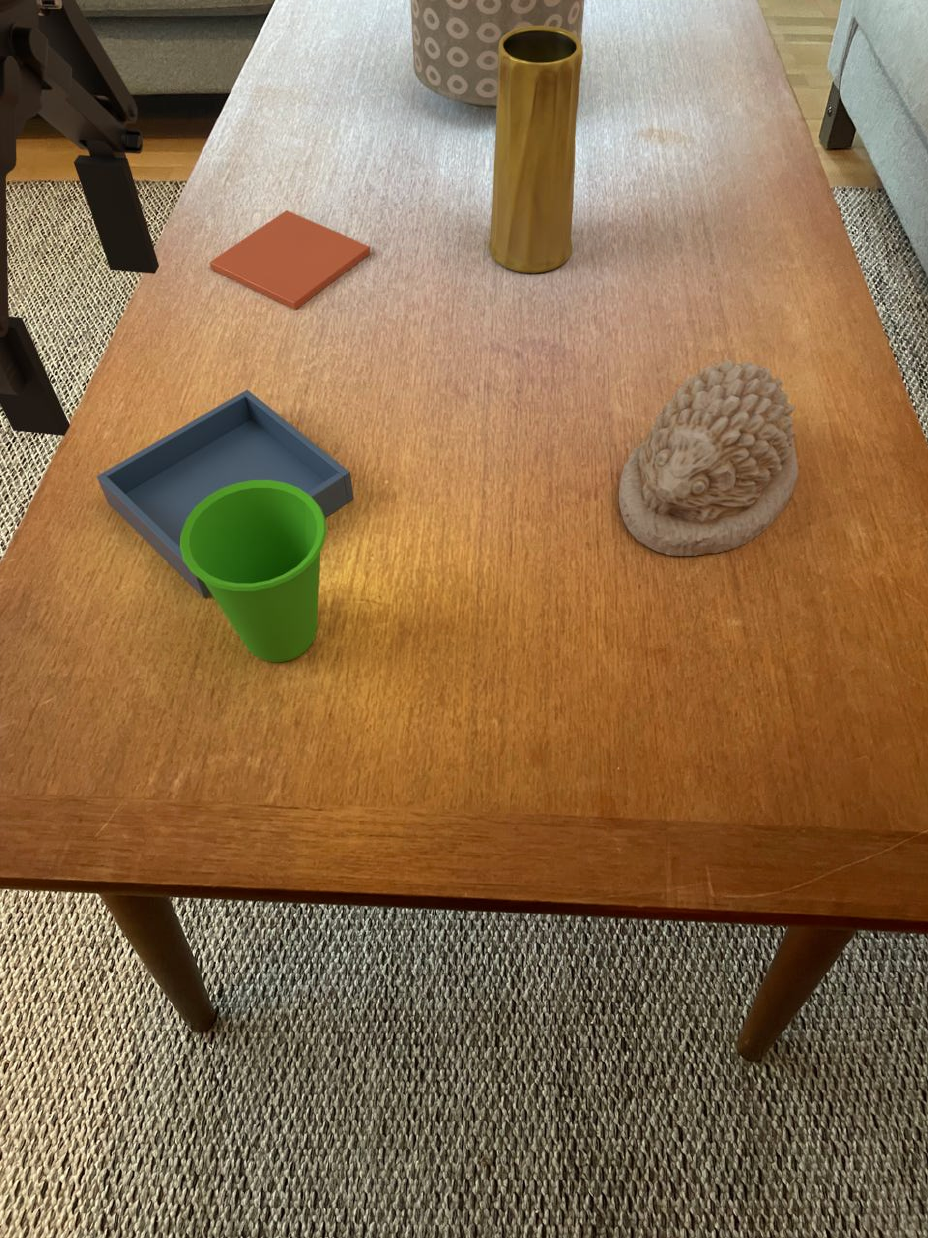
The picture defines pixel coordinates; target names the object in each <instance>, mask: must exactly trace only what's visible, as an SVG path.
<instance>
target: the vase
mask: <svg viewBox="0 0 928 1238" xmlns="http://www.w3.org/2000/svg"><path fill="white" fill-rule="evenodd" d="M583 53H584V52H583V44H582V40H581V41H580V40H579V38H578V37H577V36H576V35H574V34H573V33H571V32H569V31H567V30H564V29H561V28H557V27H550V26H527V27H521V28H517V29H514V30H512V31H510V32H508V33H507V34H505V35H504V36H503V37H502V38H501V39H500V42H499V47H498V86H497V109H495V110H496V111H495V133H494V134H495V135H494V153H493V154H494V155H493V170H492V171H493V173H492V199H491V200H492V201H491V214H490V215H491V216H490V231H489V240H488V251H489V253H490V255H491V257H492V259H493V260H494V261H495V262H496V263H497V264H498V265H500V266H501V267H502V268H505V269H507V270H510V271H514V272H516V273H517V272H518V273H522V274H523V273H524V274H536V273H539V274H540V273H545V272H549V271H552V270H554V269H557V268H559V267H560V266H562V265H563V264H565V263H566V262H568V260H569V259H570V256H571V255H572V252H573V244H572V243H573V242H572V227H573V217H574V215H573V213H574V200H575V199H574V195H575V194H574V193H575V176H576V175H575V174H576V173H575V172H576V147H577V146H576V135H577V120H578V119H577V118H578V108H579V107H578V106H579V98H580V97H579V94H580V84H581V83H580V81H581V73H582V63H583V55H584V54H583Z"/></svg>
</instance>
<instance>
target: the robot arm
mask: <svg viewBox="0 0 928 1238" xmlns="http://www.w3.org/2000/svg"><path fill="white" fill-rule="evenodd" d="M138 111H139V110H138V107H137V104H136V100H135V98H134V97H133V96H132V94H131V92H130V90H129V89H128V87H127V85H126V84H125V82H124V80H123V79H122V77H121V75H120V74H119V72H118V70H117V68H116V66H115V65H114V63H113V62H112V59H111V58H110V57H109V54H108V53H107V51H106V50H105V48H104V46H103V45H102V43H101V41H100V39H99V38H98V35H97V34H96V33H95V31H94V29H93V28H92V26H91V24H90V23H89V21H88V19H87V17H86V16H85V14H84V12H83V11H82V9H81V7H80V5H79V4H78V2H77V0H0V408H1V410H2V412H3V414H4V415H5V417H6V420H7V421H8V423H9V425H10V427H11V429H12V431H13V432H22V433H32V434H40V435H51V436H58V437H59V436H60V437H65V436H66V434H67V433H68V430H69V429H70V427H71V424H70V422H69V420H68V418H67V415H66V413H65V411H64V409H63V406H62V404H61V401H60V399H59V397H58V395H57V393H56V391H55V388H54V386H53V384H52V381H51V379H50V377H49V375H48V373H47V370H46V368H45V366H44V364H43V361H42V359H41V357H40V355H39V352H38V350H37V348H36V345H35V344H34V341H33V338H32V336H31V334H30V332H29V330H28V327H27V325H26V323H25V321H24V318H23V317H19V316H9V315H10V313H9V309H10V308H9V262H8V259H9V258H8V225H7V224H8V218H7V217H8V216H7V215H8V214H7V210H8V209H7V176H8V174H9V173H11V172H12V171H13V170H14V169H15V167H17V139H18V138H19V137H20V136H21V135H22V133H23V131H24V128H25V125H26V123H27V121H28V120H29V119H32V118H33V117H36V115H39V116H40V117H41V118H43V119H44V120H45V121H46V122H48V124H50V125H51V126H52V127H53V128H54V129H55V130H57V131H58V132H60V133H61V135H63V136H64V137H65V138H66V139H68V140H69V141H70V142H71V143H72V144H74V145H75V146H76V147H77V148H79V149H80V150H82V151H88V155H86V154H78V155H77V157H76V158H75V160H74V161H73V165H74V168H75V171H76V174H77V176H78V180H79V183H80V185H81V188H82V191H83V194H84V197H85V200H86V203H87V205H88V208H89V212H90V214H91V217H92V218H91V219H92V220H93V223H94V226H95V229H96V232H97V236H98V238H99V241H100V244H101V246H102V249H103V252H104V256H105V258H106V261H107V265H108V267H109V270H110V271H118V272H130V273H141V274H152V275H153V274H154V275H155V274H156V273H157V271H158V269H159V267H160V264H159V260H158V257H157V254H156V250H155V247H154V244H153V241H152V237H151V234H150V231H149V227H148V224H147V221H146V216H145V213H144V210H143V206H142V204H141V200H140V197H139V193H138V190H137V186H136V182H135V180H134V179H135V178H134V176H133V173H132V170H131V166H130V163H129V159H128V157H127V155H126V154H136V155H140V154H142V152H143V148H144V139H143V138H144V137H143V134H142V132H141V130H140V129H139V128H138V129H136V128H135V129H134V128H126V127H127V124H136V123H137V120H138V116H139V112H138Z"/></svg>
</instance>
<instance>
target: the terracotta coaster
mask: <svg viewBox="0 0 928 1238" xmlns="http://www.w3.org/2000/svg"><path fill="white" fill-rule="evenodd" d="M369 255H371V247H370V246H369V245H367V244H364V243H362V242H360V241H358V240H355V239H353V238H351V237H349V236H346V235H344V234H342V233H339V232H337V231H336V230H332V229H330V228H328V227H326V226H323V225H321V224H319V223H317V222H315V221H312V220H310V219H308V218H306V217H303V216H301V215H298V214H297V213H294V212H292V211H290V210H288V209H286V210H284V211H283V212H282V213H280V214H279V215H277V216H276V217H274V218H273V219H271V220H270V221H268V222H267V223H265V224H263V226H261V227H260V228H258V229H256V230H255V231H253V232H251V233H250V234H249V235H247V236H246V237H244V238H243V239H242V240H240V241H238V242H237V243H236V244H234V245H233V246H231V247H230V248H228V249H227V250H225V251H223V252H222V253H221V254H219V255H218V256H216V257H214V258H213V259H212V260H210V261H209V266H210V270H212V271H214V272H215V273H216V272H217V273H218V274H220V275H222V276H225V277H227V278H229V279H230V280H233V281H234V282H237V283H239V284H241V285H244V286H245V287H246V288H248V289H251V290H253V291H255V292H258V293H259V294H261V295H263V296H265V297H268V298H269V299H272V300H274V301H276V302H278V303H280V304H282V305H284V306H287V307H288V308H290V309H292V310H297V309H298V308H300V307H302V306H303V305H305V303H307V302H308V301H309V300H311V299H312V298H313V297H315V296H316V295H317V294H319V293H320V292H321V291H323V290H324V289H325V288H327V287H328V286H329V285H331V284H332V283H333V282H335V281H336V280H337V279H339V278H340V277H341V276H343V275H344V274H345V273H347V272H348V271H349V270H351V269H352V268H353V267H355V266H356V265H358V263H360V262H361V261H362V260H364V259H365V258H367V257H368V256H369Z"/></svg>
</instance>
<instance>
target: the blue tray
mask: <svg viewBox="0 0 928 1238" xmlns="http://www.w3.org/2000/svg"><path fill="white" fill-rule="evenodd" d="M96 479H97V481H98V483H99V486H100V489H101V491H102V492H103V494H104V495H103V496H104V497H105V500H106V502H107V504H108V505H109V506H110V507H112V509H114V511H115V512H116V513H118V514H119V515H120V517H122V518H123V519H124V520H125V522H126V523H128V525H130V526H131V527H132V528H133V529H134V530H135V532H136V533H138V534H139V535H140V536H141V537H142V538H143V540H145V541H146V542H147V543H148V544H149V545H150V546H151V547H152V548H153V550H155V552H157V553H158V554H159V555H160V556H161V557H162V558H163V559H164V560H165V561H166V562H167V563H168V564H169V565H170V566H171V567H172V568H173V569H174V570H175V571H176V572H177V573H178V574H179V575H180V576H181V577H182V578H183V579H184V580H185V581H186V582H187V583H188V584H189V585H190V586H191V587H192V588H193V589H194V590H195V591H196V592H197V593H198V594H199V595H200V596H201V597H202V598H203V599H206V598H207V597H209V596H211V595H212V594H211V592H210V591H209V589H208V588H207V586H206V585H205V583H204V581H202V580H201V579H200V578H198V577H197V576H196V575H195V574H193V573H192V572H191V571H190V569H189V568H188V566H187V565H186V563H185V562H184V561H183V557H182V554H181V550H180V538H181V532H182V529H183V527H184V524H185V522H186V519H187V518H188V516H189V515H190V513H191V512H192V511H193V509H194V508H195V507H196V506H197V505H198V504H199V503H200V502H201V501H203V500H204V499H205V498H206V497H207V496H209V495H211V494H213V493H214V492H216V491H218V490H219V489H221V488H224V487H227V486H230V485H232V484H235V483H239V482H245V481H251V480H273V481H278V482H284V483H287V484H290V485H292V486H295V487H297V488H299V489H301V490H302V491H304V492H305V493H307V494H308V495H309V496H311V497H312V498H313V499H314V500H315V502H316V503H317V504H318V505H319V507H320V508H321V510H322V512H323V515H324V517H325V519H326V518H328V517H329V516H331V515H332V514H334V513H335V512H336V511H338V510H340V509H341V508H342V507H344V506H346V505H347V504H348V503H350V502H351V501H353V500H354V499H355V497H354V492H353V483H352V475H351V472H350V471H349V470H348V469H347V468H346V467H345V466H343V465H341V463H339V462H338V461H337V460H336V459H334V458H333V457H332V456H331V455H329V454H328V453H327V452H325V450H323V449H322V448H320V446H318V445H317V444H316V443H315V442H314V441H312V440H311V439H309V437H307V436H306V435H305V434H303V433H302V432H301V431H300V430H299V429H297V428H296V427H294V426H293V425H292V424H291V423H290V422H288V420H286V419H284V417H282V416H281V415H280V414H278V412H276V411H275V410H273V408H271V407H270V406H268V405H267V404H266V403H265V402H264V401H262V399H260V398H259V397H258V396H256V395H255V394H254V393H252V391H250V390H249V389H245V390H243V391H242V392H241V393H238V394H237V395H235V396H233V397H231V398H229V399H228V400H226V401H225V402H223V403H221V404H220V405H218V406H216V407H214V408H212V409H211V410H208V411H207V412H206V413H204V414H202V415H200V416H199V417H196V418H195V419H194V420H191V421H190V422H188V423H186V424H184V425H183V426H181V427H179V428H178V429H176V430H174V431H173V432H170V433H169V434H167V435H165V436H164V437H162V438H160V439H159V440H156V441H155V442H153V443H152V444H149V445H148V446H146V447H145V448H143V449H141V450H140V451H138V452H136V453H134V454H132V455H131V456H129V457H128V458H126V459H124V460H122V461H120V462H119V463H117V464H115V465H113V466H112V467H110V468H108V469H106V470H105V471H103V472H101V473H99V474H97V475H96Z"/></svg>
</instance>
